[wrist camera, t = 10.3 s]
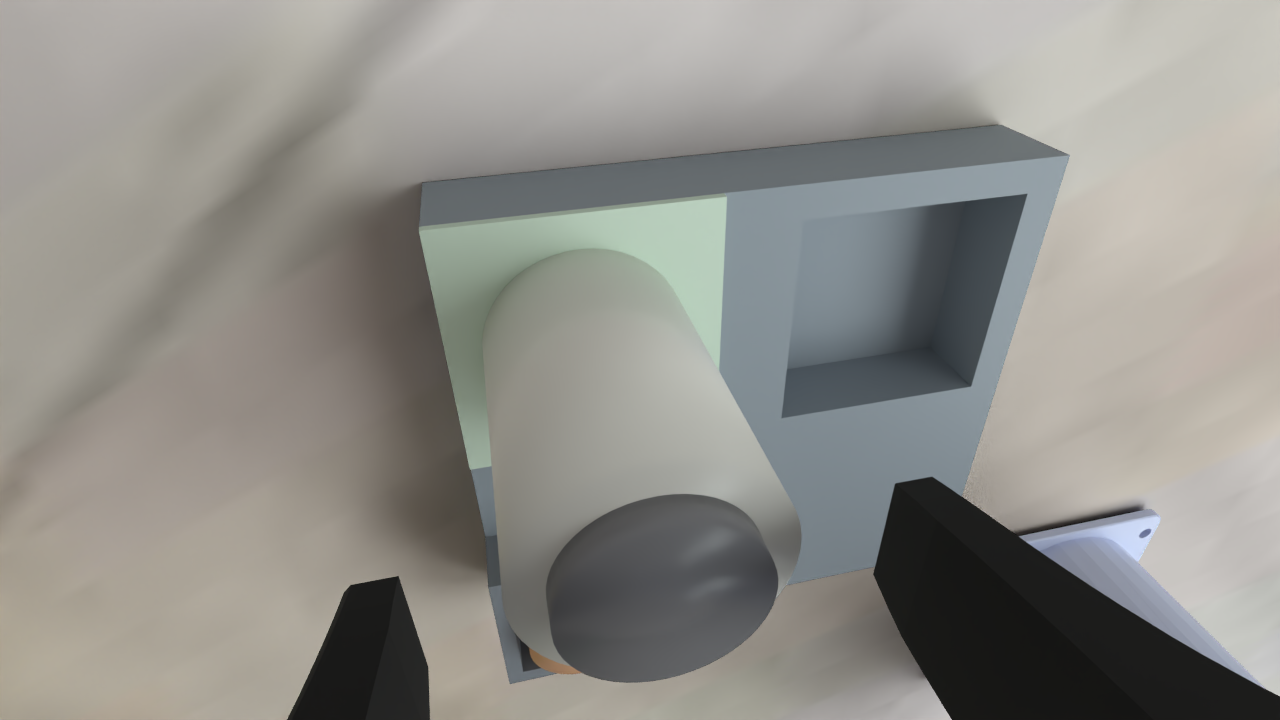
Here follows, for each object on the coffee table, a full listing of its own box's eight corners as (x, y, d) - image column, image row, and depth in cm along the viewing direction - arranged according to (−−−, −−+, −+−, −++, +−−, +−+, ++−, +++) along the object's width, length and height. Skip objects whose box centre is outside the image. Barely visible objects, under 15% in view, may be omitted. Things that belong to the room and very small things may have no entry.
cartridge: (723, 309, 16) (879, 551, 10) (609, 447, 17) (689, 725, 12) (557, 208, 14) (636, 444, 8) (443, 377, 15) (442, 675, 9)
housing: (905, 499, 25) (973, 592, 22) (502, 577, 23) (512, 694, 19) (1001, 124, 18) (1125, 180, 15) (422, 182, 15) (415, 264, 12)
